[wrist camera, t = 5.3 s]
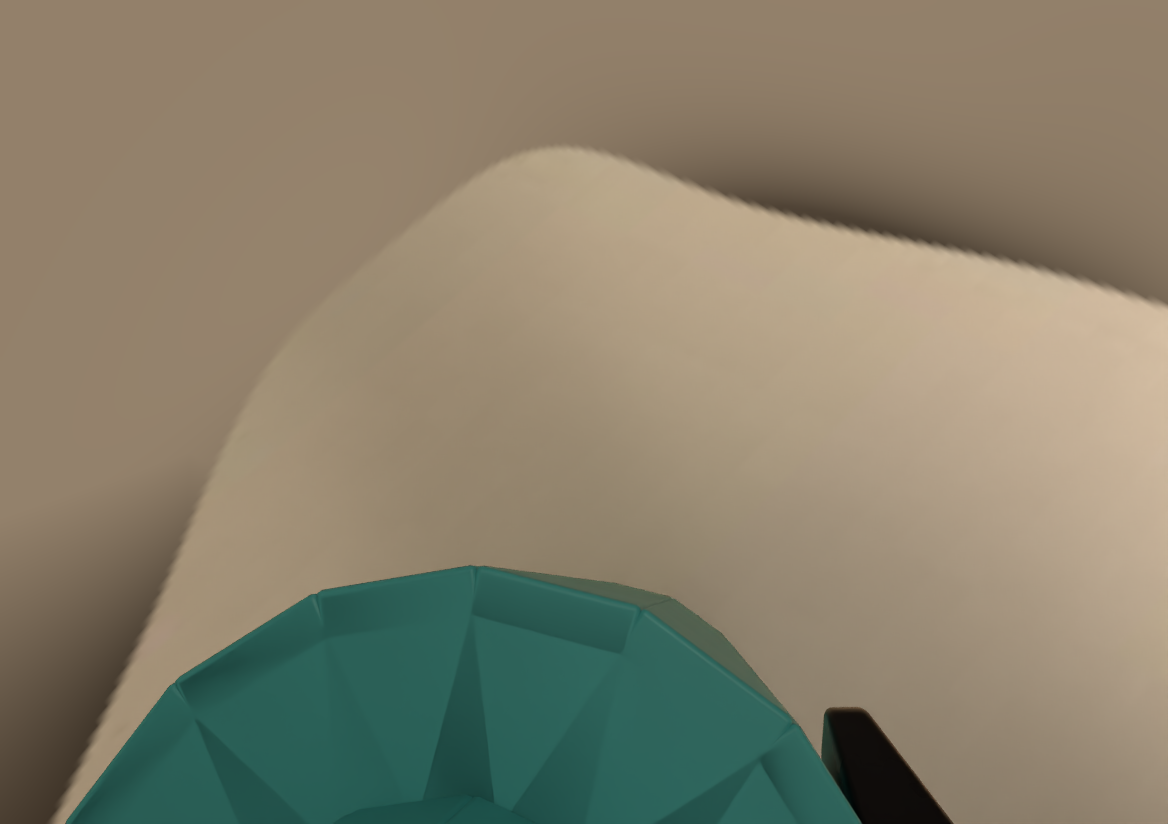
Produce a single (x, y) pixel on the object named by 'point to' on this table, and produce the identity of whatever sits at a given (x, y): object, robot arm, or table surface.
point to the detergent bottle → (471, 716)
